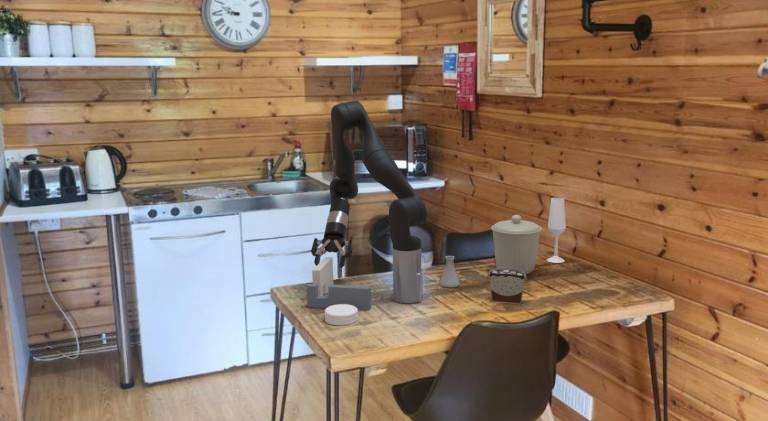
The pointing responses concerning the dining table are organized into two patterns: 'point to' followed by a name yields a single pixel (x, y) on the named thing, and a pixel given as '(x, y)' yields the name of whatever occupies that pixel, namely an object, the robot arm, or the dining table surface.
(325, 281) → the white slotted plate
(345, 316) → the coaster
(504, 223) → the canister
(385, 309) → the dining table surface
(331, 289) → the grey slotted plate
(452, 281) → the flask
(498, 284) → the food container
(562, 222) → the champagne flute
